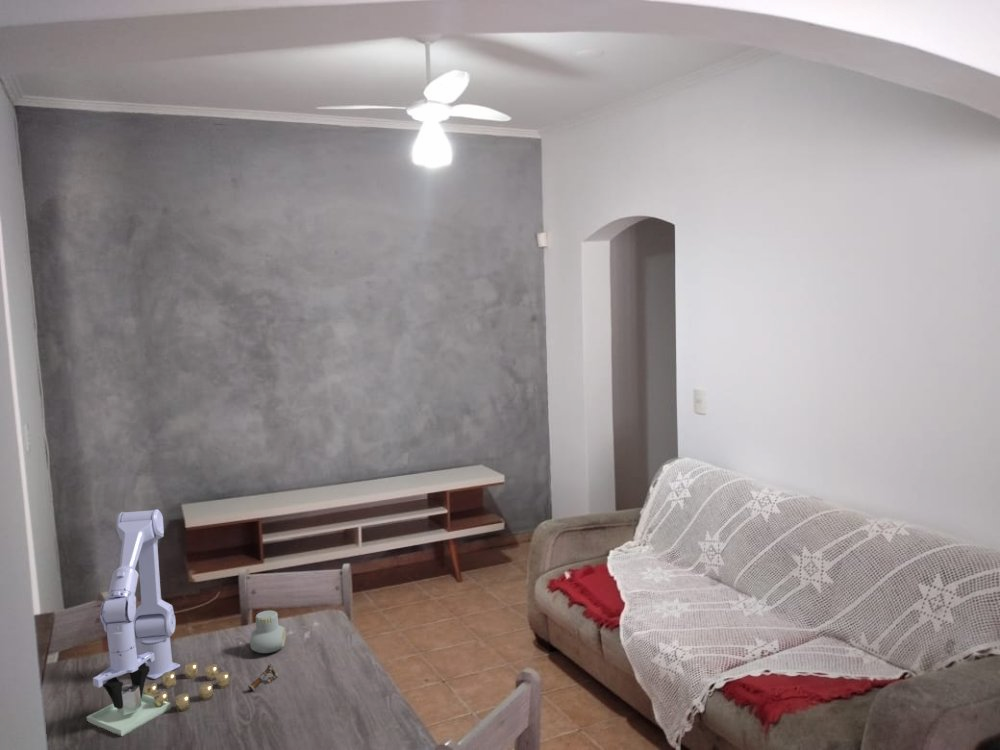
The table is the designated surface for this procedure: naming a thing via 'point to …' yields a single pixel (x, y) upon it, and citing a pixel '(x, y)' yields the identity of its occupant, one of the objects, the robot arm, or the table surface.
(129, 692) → the steel nut
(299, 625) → the table surface
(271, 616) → the air freshener
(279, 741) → the table surface
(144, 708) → the tray
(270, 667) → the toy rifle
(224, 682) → the set of brass balls
